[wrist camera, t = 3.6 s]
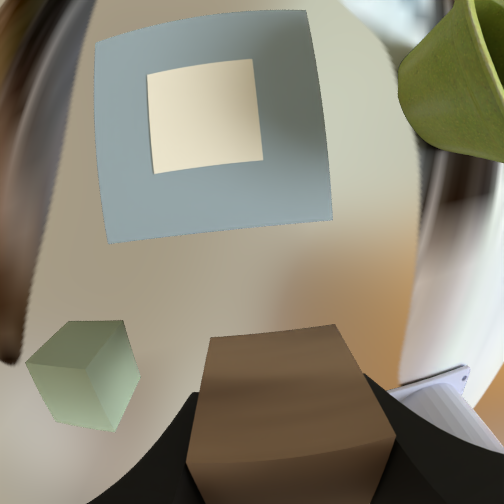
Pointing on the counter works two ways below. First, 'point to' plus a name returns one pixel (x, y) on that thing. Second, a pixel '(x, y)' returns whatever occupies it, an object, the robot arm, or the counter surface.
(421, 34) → the counter surface
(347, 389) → the walnut block
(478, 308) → the counter surface
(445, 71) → the plant pot
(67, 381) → the sage block
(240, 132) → the board
